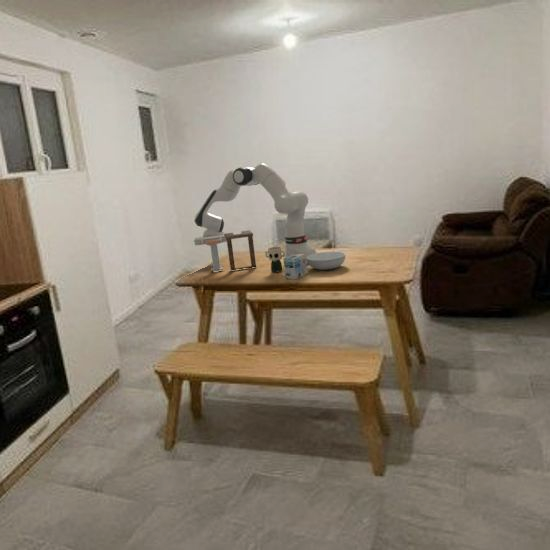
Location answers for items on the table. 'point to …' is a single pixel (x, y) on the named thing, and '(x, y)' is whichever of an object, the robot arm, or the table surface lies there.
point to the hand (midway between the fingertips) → (211, 242)
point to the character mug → (275, 258)
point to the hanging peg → (214, 253)
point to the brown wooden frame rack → (230, 250)
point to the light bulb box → (295, 266)
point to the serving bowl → (326, 260)
